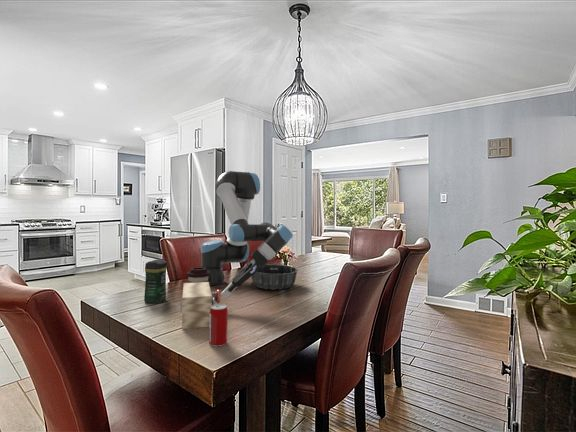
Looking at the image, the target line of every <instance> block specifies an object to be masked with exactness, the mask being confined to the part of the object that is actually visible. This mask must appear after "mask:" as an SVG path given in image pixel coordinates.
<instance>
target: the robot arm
mask: <svg viewBox="0 0 576 432" xmlns="http://www.w3.org/2000/svg"><path fill="white" fill-rule="evenodd" d="M260 181H261V180H260V178H259V176H258V174H256V173H255V172H249V171H248V172H247V171H244V172H243V171H233V170H228V171H224V172H223V173H221V174H220V175H219V176H218V178H217V179H216V181H215V186H214V188H215V193H216V194H217V196H218V197H219V198H220V199H221V203H222V205H223V208H224V211H225V212H226V215H227V218H228V220H229V224H230V226H229V227H228V237H227V239H226V242H224V241H222V240H211V241H206V242H204V243H202V244H201V248H200V249H201V251H200V253H201V254H200V260H201V261H200V263H201V264H200V267H202V268H206V269H207V271H209V272H210V275H209V276H208V282H209V286H218V285H222V284H223V285H224V283H226V276H225V274H224V270H223V264H233V263H243V262H245V261H247V259H248V257H249V253H250V246H249V243H248V242H262V243H261V244H260V245H259V246H258V247H257V249H256V250H254V251H253V252H252V253H251V254H250V257H251V258H252V259H251V260H250V261H248V262H246V263H245V264H244V266H243V267H242V268H241V269H240V270H239V271H238V272H237V273H236V275H235V276H234V277H233V278H232V280H231V282H230V283H229V284H228V285H227V286H226V287H225V288H224V290H223V291H221V292H220V296H221V297H222V298H223V299H225V300H226V299H227V298H228V297H229V296H230V295H231V294H232V293H233V292H234V291H235V289H237V288H239V287H241V286H242V285H243V284H244V283H246V281H248V280H249V279H250V278H252V275H253V274H255V273H256V270H257V268H258V266H259V265H260V266H261V267H264V266H265V265H266V264H269V261H272V259H273V258H276V255H277V254H278V253H279V252H280V251H281V250H282V249H283V248H284V247H285V246H286V245H287V244H288V243H289V242H290V241H291V239H292V238H293V236H294V235H293V233H292V232H291V230H290V229H289V228H288V227H287V226H286V225H284V224H280V225H278V227H277V226H274V225H273V224H272V223H270V222H266V221H264V222H261V223H260V224H253V223H251V224H249V222H248V221H249V215H250V209H251V203H252V201H253V200H254V199H255V196H256V195H259V194H260V191H261V182H260Z"/></svg>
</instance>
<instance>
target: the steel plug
mask: <svg viewBox="0 0 576 432" xmlns="http://www.w3.org/2000/svg"><path fill="white" fill-rule="evenodd" d="M215 304H217V303H216V302H215V297H212V305H215ZM180 314H182V301H180Z"/></svg>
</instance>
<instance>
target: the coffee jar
mask: <svg viewBox="0 0 576 432" xmlns="http://www.w3.org/2000/svg"><path fill="white" fill-rule="evenodd" d="M167 270H168V269H167V261H166V260H165V259H158V258H156V259H154V260H150V261H147V262H146V263H145V266H144V272H145V281H144V285H145V286H144V295H143V296H144V298H143V299H144V302H145V303H146V304H147V303H148V304H156V303H157V304H159V303H160V302H163V301H164V300H166V298H167V283H166V282H167V281H166V280H167V278H166V276H167Z"/></svg>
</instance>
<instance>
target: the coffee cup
mask: <svg viewBox="0 0 576 432" xmlns="http://www.w3.org/2000/svg"><path fill="white" fill-rule="evenodd" d="M209 275H210V272H209V271H207V269H206V268H202V267H201V266H199V267H191V268H190V270H189V271H187V272H186V276H187V279H188V280H187V283H197V282H208V276H209Z"/></svg>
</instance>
